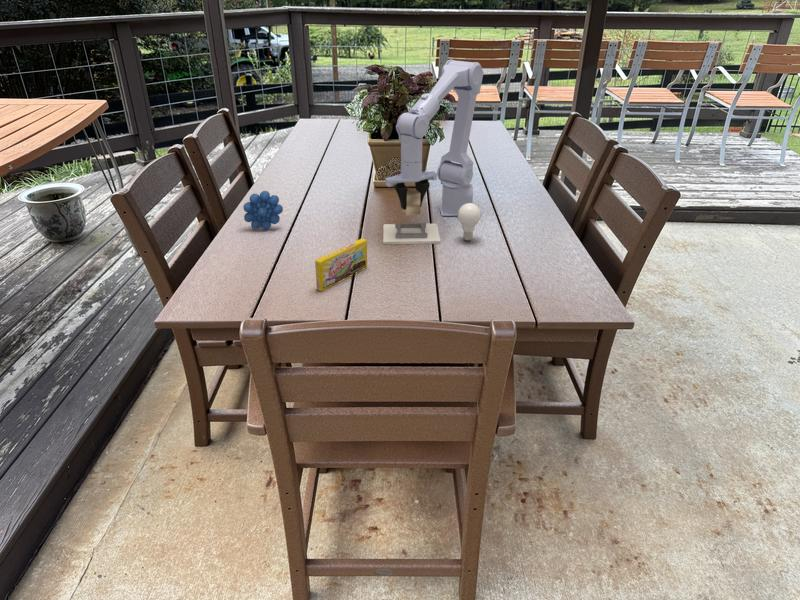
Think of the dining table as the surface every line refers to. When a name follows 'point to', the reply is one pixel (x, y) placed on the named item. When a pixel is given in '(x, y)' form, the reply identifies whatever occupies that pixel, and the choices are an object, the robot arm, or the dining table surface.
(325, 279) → the candy box
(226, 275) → the dining table surface
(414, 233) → the socket board
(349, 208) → the dining table surface
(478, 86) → the robot arm
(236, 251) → the dining table surface
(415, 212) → the birch block
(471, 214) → the lightbulb
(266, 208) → the blue knobbed flower
